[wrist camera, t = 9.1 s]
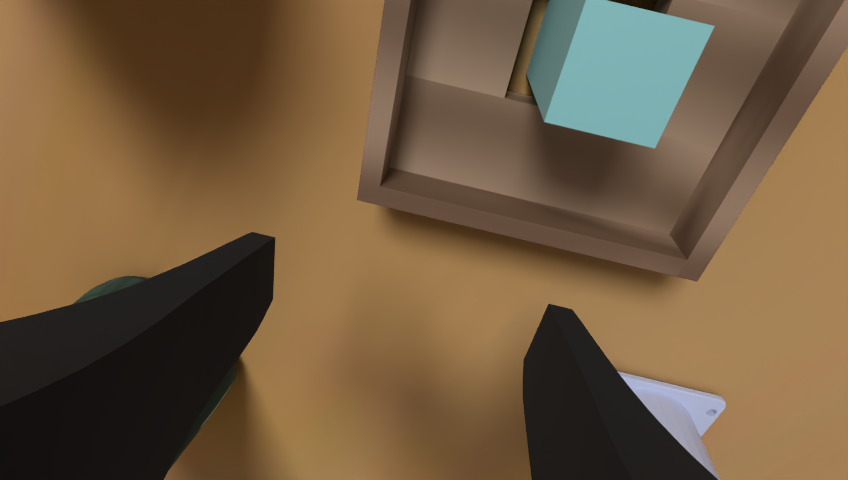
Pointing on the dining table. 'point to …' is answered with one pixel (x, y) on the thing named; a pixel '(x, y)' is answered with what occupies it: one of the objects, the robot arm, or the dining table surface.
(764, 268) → the dining table surface
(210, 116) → the dining table surface
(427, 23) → the socket box
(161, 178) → the dining table surface
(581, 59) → the peg
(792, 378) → the dining table surface
